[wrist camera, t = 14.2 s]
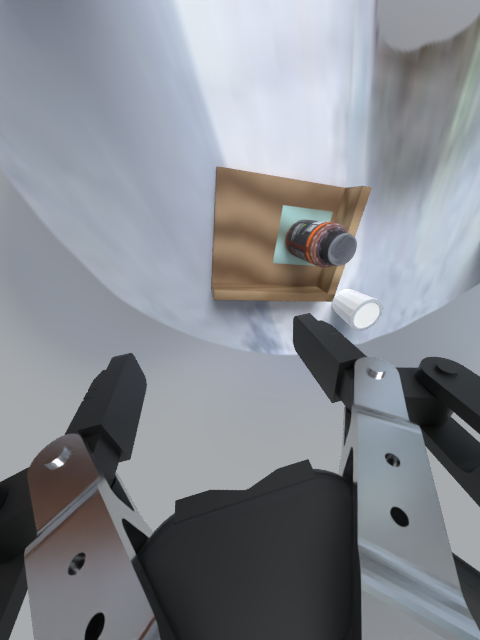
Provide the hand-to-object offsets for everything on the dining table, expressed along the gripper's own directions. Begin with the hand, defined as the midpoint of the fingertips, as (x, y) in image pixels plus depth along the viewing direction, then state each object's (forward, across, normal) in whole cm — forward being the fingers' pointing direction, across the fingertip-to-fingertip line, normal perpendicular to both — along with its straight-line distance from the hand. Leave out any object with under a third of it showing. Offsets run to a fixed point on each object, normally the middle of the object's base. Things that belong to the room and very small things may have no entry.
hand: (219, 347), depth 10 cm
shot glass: (+27, -28, +17) cm, 43 cm away
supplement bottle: (+26, -17, +2) cm, 32 cm away
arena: (+27, -13, +2) cm, 30 cm away
